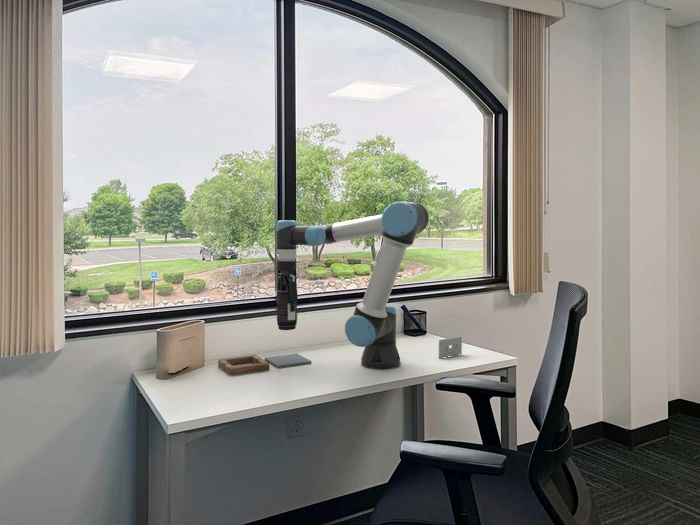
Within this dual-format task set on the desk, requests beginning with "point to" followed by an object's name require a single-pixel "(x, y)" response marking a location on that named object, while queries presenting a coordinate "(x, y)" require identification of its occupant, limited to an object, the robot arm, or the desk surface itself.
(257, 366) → the brown flat square frame
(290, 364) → the mat
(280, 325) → the camera lens
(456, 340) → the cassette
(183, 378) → the desk surface
